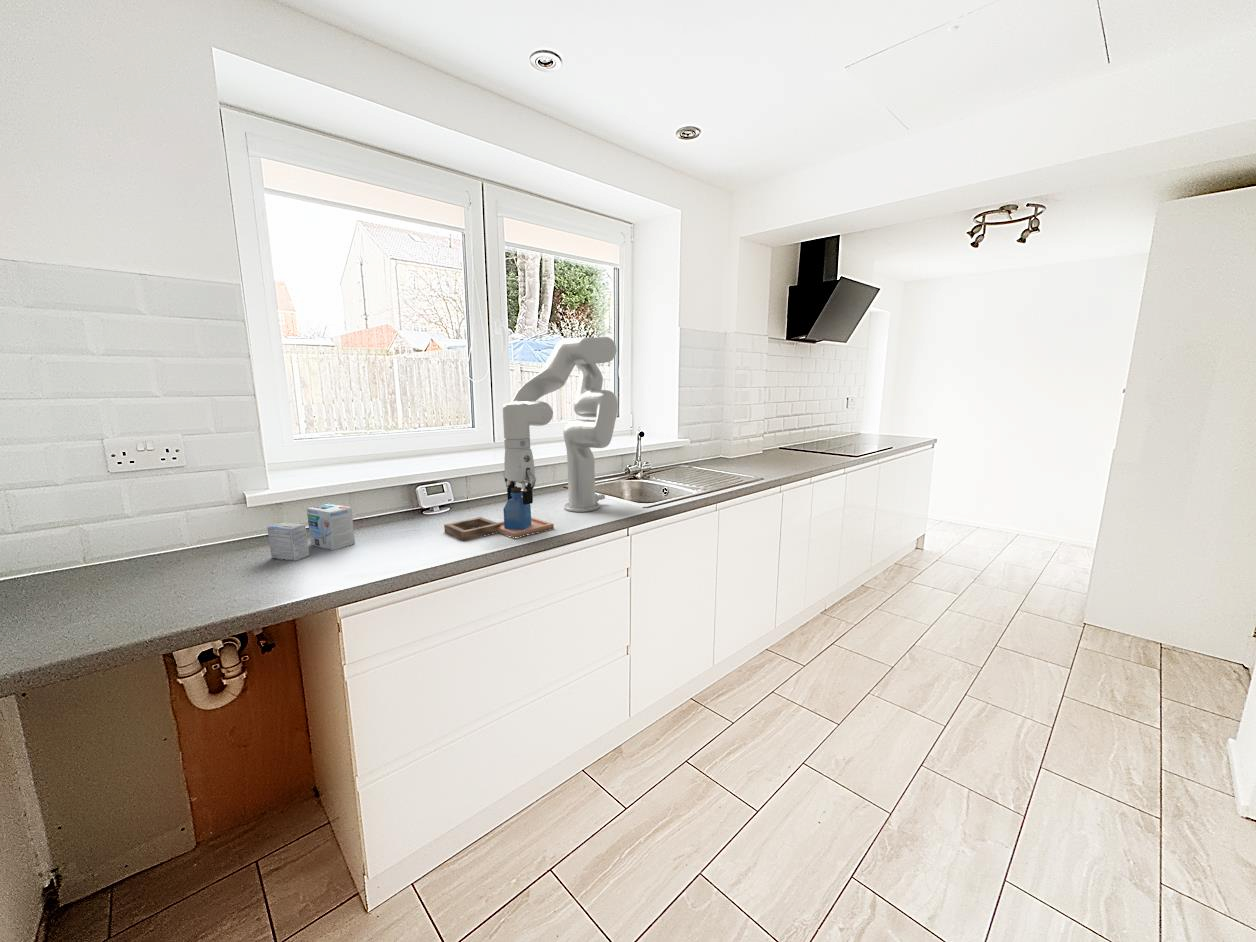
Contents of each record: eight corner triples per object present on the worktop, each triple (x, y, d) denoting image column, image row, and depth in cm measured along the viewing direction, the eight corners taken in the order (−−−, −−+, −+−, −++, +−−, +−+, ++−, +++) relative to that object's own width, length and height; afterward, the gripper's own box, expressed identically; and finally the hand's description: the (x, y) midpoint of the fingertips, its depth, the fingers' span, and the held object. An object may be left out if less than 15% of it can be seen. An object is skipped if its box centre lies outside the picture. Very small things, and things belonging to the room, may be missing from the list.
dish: (527, 520, 164) (527, 515, 164) (553, 528, 154) (553, 523, 154) (489, 529, 154) (489, 524, 154) (514, 538, 144) (514, 533, 144)
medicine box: (310, 555, 132) (306, 524, 130) (294, 561, 127) (290, 528, 126) (286, 553, 134) (282, 522, 132) (270, 559, 130) (266, 526, 128)
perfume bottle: (531, 524, 157) (529, 486, 155) (523, 529, 151) (522, 490, 149) (512, 523, 158) (510, 486, 156) (504, 528, 152) (502, 490, 150)
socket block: (480, 524, 160) (480, 516, 159) (500, 531, 151) (500, 523, 151) (444, 532, 151) (444, 524, 151) (463, 540, 143) (463, 532, 143)
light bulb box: (309, 545, 141) (305, 507, 139) (333, 538, 147) (329, 502, 145) (333, 550, 136) (328, 512, 134) (356, 543, 142) (352, 506, 140)
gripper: (544, 445, 146) (547, 504, 149) (512, 441, 158) (515, 495, 161) (522, 447, 141) (525, 508, 144) (491, 443, 153) (494, 499, 156)
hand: (520, 501), depth 153 cm, fingers open, 7 cm apart
